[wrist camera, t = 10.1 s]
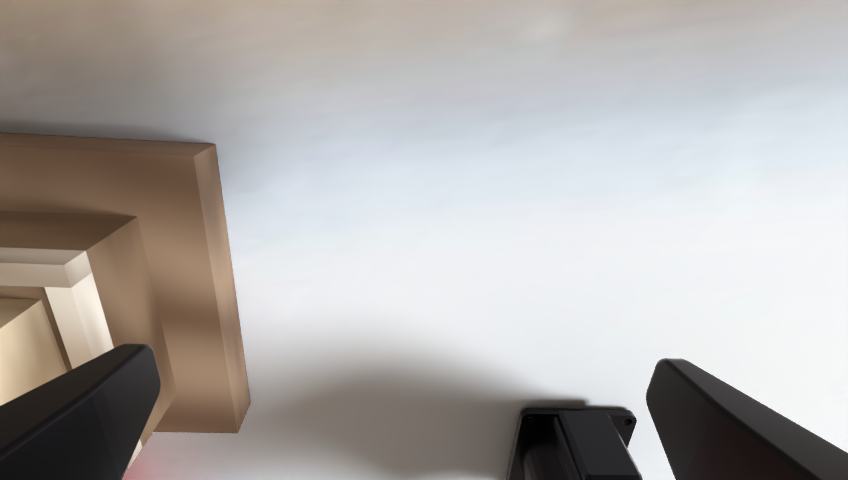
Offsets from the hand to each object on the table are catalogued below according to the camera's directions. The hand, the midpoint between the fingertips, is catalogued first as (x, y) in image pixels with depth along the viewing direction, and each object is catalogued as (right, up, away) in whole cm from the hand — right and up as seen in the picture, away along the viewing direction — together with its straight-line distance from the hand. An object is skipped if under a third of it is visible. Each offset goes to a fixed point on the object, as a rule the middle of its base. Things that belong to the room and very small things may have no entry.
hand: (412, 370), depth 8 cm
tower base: (-16, 0, +13) cm, 20 cm away
